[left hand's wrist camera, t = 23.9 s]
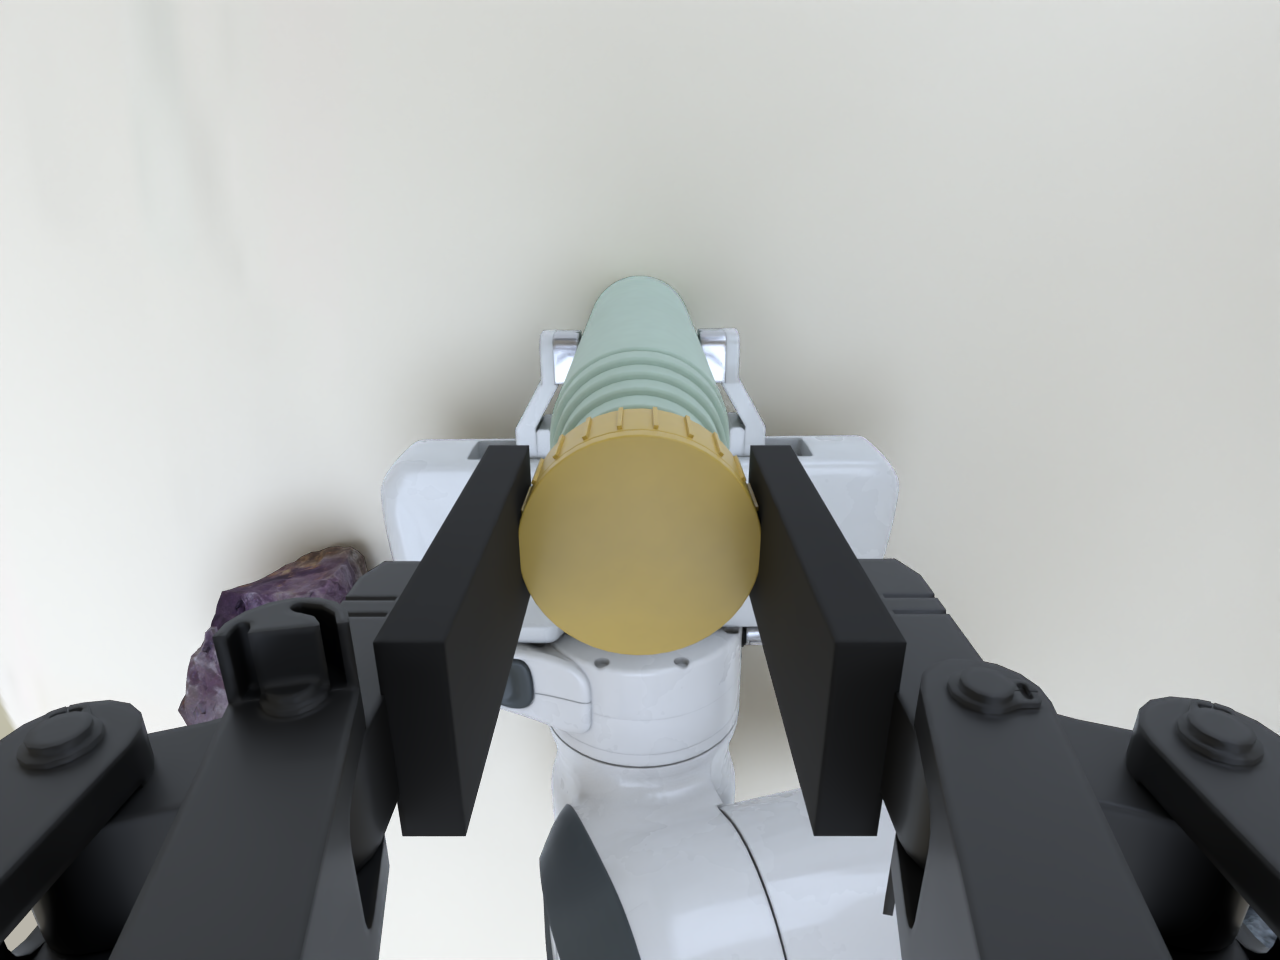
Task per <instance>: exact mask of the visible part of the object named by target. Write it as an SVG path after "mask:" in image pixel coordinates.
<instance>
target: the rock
mask: <svg viewBox="0 0 1280 960" xmlns="http://www.w3.org/2000/svg"><path fill="white" fill-rule="evenodd" d="M367 572H368V571H367V569H366V563H365V559H364V556H363V555H362V554H360V553H359V552H358V551H357V550H355V549H353V548H352V547H346V548H343V547H339V546H338V547H328V548H326V549H324V550H321V551H319V552H311V553H309V554H306V555H304V556H302V557H300V558H299V559H298V560H297V561H295V562H293V563H290V564H287V565H285V566H283V567H282V568H280V569H279V570H277V571H275V572H273V573H272V574H270V575H268V576H266V577H264V578H262V579H260V580H258V581H256V582H253V583H250V584H246V585H242V586H239V587H236V588H233V589H230V590H226V591H222V593H221V596H220V599H219V601H218V604H217V608H216V614H215V616H214V618H213V620H212V623H211V627H210V628H209V629H208V630H207V632H206V633H205V640H204V642H203V644H202V646H201V647H200V648H199V649H198V650H197V651H196V652H195V653H194V654H193V655H192V656H191V659H190V663H189V667H188V672H187V681H186V695H185V696H184V698H183V700H182V701H181V704H180V707H179V709H178V711H179V713H180V714H181V716H182V717H183V719H184V721H185V722H186V724H187V726H189V725H193V724H198V723H203V722H207V721H211V720H215V719H218V718H222V716H223V714H224V712H225V710H226V708H227V706H228V700H227V695H226V691H225V687H224V683H223V679H222V675H221V671H220V667H219V663H218V659H217V655H216V651H215V647H214V643H213V639H212V637H213V635H214V634H215V633H216V632H217V631H218V630H219V629H220V628H221V627H222V626H223V625H224V624H225V623H226V622H228V621H229V620H231V619H233V618H235V617H236V616H238V615H240V614H241V613H243V612H245V611H247V610H250V609H253V608H255V607H258V606H261V605H264V604H266V603H269V602H274V601H279V600H285V599H290V598H299V597H319V598H323V599H327V600H332V601H336V602H338V603H339V604H341V602H342V601H345V599H346V598H345V597H346V595H347V594H348V593H349V591H350V590H351V588H352V587H353V586H354V584H355V583H356V581H357V580H358V579H359V577H361V576H363V575H364V574H366V573H367Z"/></svg>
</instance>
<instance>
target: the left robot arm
mask: <svg viewBox="0 0 1280 960" xmlns="http://www.w3.org/2000/svg"><path fill="white" fill-rule="evenodd" d="M748 483H750V485H751V488H752V490H753V493H754V496H755V498H756V501H757V504H758V506H759V508H758V511H757V514H758V517H759V521H760V524H761V540H760V556H759V570H758V575H757V578H756V582H755V584H754V586H753V588H752V590H751V592H750V594H749V597H750V601H751V604H752V608H753V612H754V616H755V619H756V623H757V627H758V630H759V634H760V638H761V642H762V645H763V649H764V653H765V656H766V660H767V664H768V668H769V671H770V675H771V679H772V682H773V686H774V690H775V694H776V697H777V701H778V705H779V709H780V712H781V716H782V720H783V723H784V727H785V731H786V735H787V738H788V742H789V746H790V749H791V753H792V757H793V761H794V764H795V768H796V772H797V775H798V779H799V783H800V787H801V790H802V794H803V798H804V802H805V805H806V809H807V813H808V816H809V820H810V824H811V828H812V831H813V835H814V836H877V833H878V826H879V820H880V813H881V807H882V800H883V801H884V804H885V806H886V809H887V811H888V814H889V816H890V819H891V821H892V824H893V826H894V829H895V831H896V834H895V840H894V846H893V852H892V858H891V864H890V870H889V876H888V882H887V888H886V894H885V901H884V908H883V914H884V915H890V916H893V911H894V905H895V907H896V915H897V924H898V932H899V941H900V949H901V958H902V960H1280V736H1279V735H1277V734H1276V733H1274V732H1273V731H1271V730H1270V729H1268V728H1267V727H1265V726H1264V725H1262V724H1261V723H1259V722H1258V721H1256V720H1254V719H1252V718H1249V717H1247V716H1245V715H1243V714H1240V713H1238V712H1236V711H1234V710H1233V709H1231V708H1229V707H1226V706H1223V705H1220V704H1217V703H1214V704H1213V703H1211V702H1209V701H1204V700H1200V699H1191V698H1180V697H1165V698H1159V699H1153V700H1150V701H1148V702H1147V703H1146V704H1145V705H1144V706H1143V707H1141V708H1140V709H1139V712H1138V715H1137V719H1136V722H1135V725H1134V729H1133V731H1132V730H1128V729H1123V728H1118V727H1113V726H1108V725H1103V724H1098V723H1093V722H1088V721H1083V720H1078V719H1074V718H1070V717H1066V716H1063V715H1059V714H1057V713H1056V711H1055V709H1054V707H1053V704H1052V702H1051V701H1050V700H1049V699H1048V697H1047V696H1046V695H1045V693H1044V692H1043V691H1042V690H1041V688H1040V687H1038V686H1037V685H1035V684H1034V683H1033V682H1031V681H1030V680H1028V679H1027V678H1025V677H1024V676H1023V675H1021V674H1019V673H1017V672H1014V671H1012V670H1010V669H1007V668H1005V667H1002V666H1000V665H998V664H993V663H989V662H984V661H983V660H982V659H981V657H980V656H979V655H978V653H977V652H976V650H975V649H974V648H973V646H972V645H971V644H970V642H969V641H968V639H967V638H966V637H965V635H964V634H963V633H962V631H961V630H960V629H959V627H958V626H957V624H956V623H955V622H954V620H953V619H952V618H951V616H950V615H949V614H946V609H945V608H944V607H943V605H942V604H941V602H940V601H939V600H938V598H935V597H934V593H933V591H932V590H931V589H930V587H929V586H928V585H927V583H926V582H925V581H924V579H923V578H922V576H921V575H920V574H918V573H917V572H915V571H913V570H912V569H910V568H909V567H907V566H906V565H904V564H903V563H901V562H899V561H898V560H896V559H857V557H856V556H855V554H854V552H853V550H852V549H851V547H850V545H849V544H848V542H847V540H846V539H845V537H844V535H843V534H842V532H841V530H840V528H839V527H838V525H837V523H836V522H835V520H834V518H833V517H832V515H831V513H830V511H829V510H828V508H827V506H826V505H825V503H824V501H823V500H822V498H821V496H820V495H819V493H818V491H817V489H816V488H815V486H814V484H813V483H812V481H811V479H810V478H809V476H808V474H807V472H806V471H805V469H804V467H803V466H802V464H801V462H800V461H799V459H798V457H797V456H796V454H795V452H794V450H793V449H792V447H791V445H750V460H749V478H748ZM530 486H531V469H530V451H529V445H489V446H488V448H487V450H486V451H485V453H484V455H483V456H482V458H481V460H480V461H479V463H478V465H477V467H476V468H475V470H474V472H473V473H472V475H471V477H470V478H469V480H468V482H467V483H466V485H465V487H464V489H463V490H462V492H461V494H460V495H459V497H458V499H457V500H456V502H455V504H454V506H453V507H452V509H451V511H450V512H449V514H448V516H447V517H446V519H445V521H444V522H443V524H442V526H441V528H440V529H439V531H438V533H437V534H436V536H435V538H434V539H433V541H432V543H431V544H430V546H429V548H428V550H427V551H426V553H425V555H424V556H423V558H422V560H421V561H384V562H383V563H381V564H380V565H378V566H376V567H375V568H373V569H372V570H370V571H369V572H367V573H366V574H364V575H363V576H361V577H359V579H358V580H357V581H356V583H355V584H354V586H353V587H352V588H351V590H350V591H349V593H348V594H347V595H346V597H345V598H346V599H345V601H342V602H341V604H339V603H338V602H336V601H332V600H327V599H323V598H319V597H299V598H290V599H285V600H279V601H274V602H269V603H266V604H264V605H261V606H258V607H255V608H253V609H250V610H247V611H245V612H243V613H241V614H240V615H238V616H236V617H235V618H233V619H231V620H229V621H228V622H226V623H225V624H224V625H223V626H222V627H221V628H220V629H219V630H218V631H217V632H216V633H215V634H214V635H213V637H212V639H213V643H214V647H215V651H216V655H217V659H218V663H219V667H220V671H221V675H222V679H223V683H224V687H225V691H226V695H227V700H228V706H227V708H226V710H225V712H224V714H223V716H222V718H218V719H215V720H211V721H207V722H203V723H198V724H193V725H189V726H184V727H179V728H174V729H169V730H164V731H159V732H154V733H149V734H147V731H146V727H145V724H144V721H143V717H142V714H141V712H140V711H138V710H137V709H136V708H135V707H134V706H133V705H131V704H130V703H125V702H119V701H113V700H105V701H95V702H84V703H79V704H74V705H70V706H69V707H62V708H59V709H56V710H53V711H51V712H49V713H47V714H46V715H44V716H41V717H39V718H37V719H35V720H33V721H30V722H28V723H26V724H24V725H22V726H21V727H19V728H18V729H16V730H15V731H13V732H12V733H10V734H9V735H7V736H6V737H4V738H3V739H1V740H0V960H379V951H380V943H381V934H382V926H383V917H384V909H385V900H386V892H387V883H388V875H389V859H388V852H387V846H386V840H385V831H386V829H387V826H388V824H389V821H390V819H391V816H392V814H393V811H394V809H395V806H396V803H397V804H398V810H399V817H400V823H401V830H402V836H466V833H467V829H468V826H469V822H470V818H471V815H472V811H473V807H474V803H475V800H476V796H477V792H478V788H479V785H480V781H481V777H482V774H483V770H484V766H485V762H486V759H487V755H488V751H489V748H490V744H491V740H492V736H493V733H494V729H495V725H496V722H497V718H498V714H499V710H500V707H501V703H502V699H503V696H504V692H505V688H506V684H507V681H508V677H509V673H510V670H511V666H512V662H513V658H514V655H515V651H516V647H517V644H518V640H519V636H520V632H521V629H522V625H523V621H524V617H525V614H526V610H527V606H528V603H529V599H530V593H529V591H528V589H527V587H526V585H525V582H524V580H523V577H522V574H521V563H520V548H519V523H520V518H521V515H522V514H521V509H522V506H523V504H524V501H525V498H526V496H527V493H528V490H529V488H530ZM531 487H532V486H531ZM1249 906H1251V907H1252V909H1253V910H1254V911H1255V912H1256V913H1257V914H1258V915H1259V916H1260V918H1261V919H1262V920H1263V921H1264V922H1265V923H1266V924H1267V926H1268V927H1269V928H1270V929H1271V930H1272V931H1273V932H1274V933H1275V935H1276V936H1277V938H1276V940H1275V943H1274V945H1273V946H1272V947H1271V949H1269V948H1267V947H1266V946H1265V945H1264V944H1263V943H1262V942H1260V941H1259V940H1258V939H1257V938H1256V937H1255V936H1254V935H1253V933H1252V932H1251V931H1250V930H1249V929H1248V928H1247V926H1246V925H1245V924H1244V923H1243V920H1244V918H1245V915H1246V913H1247V910H1248V908H1249ZM30 910H32V912H33V914H34V917H35V919H36V922H37V924H38V926H37V927H36V928H35V929H34V930H33V931H32V933H31V934H30V935H29V936H28V937H27V939H26V940H25V941H23V942H22V943H21V944H20V945H19V946H18V947H16V948H15V949H14V950H13V951H12V952H11V951H9V950H8V949H7V947H6V944H5V942H4V940H5V939H6V937H7V936H8V935H9V934H10V933H11V932H12V931H13V929H14V928H15V927H16V926H17V925H18V924H19V923H20V922H21V920H22V919H23V918H24V917H25V916H26V915H27V914H28V912H29V911H30Z"/></svg>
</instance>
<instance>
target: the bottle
mask: <svg viewBox="0 0 1280 960" xmlns="http://www.w3.org/2000/svg"><path fill="white" fill-rule="evenodd" d="M620 407H623V410H624V409H639V408H644V409H653V407H657V410H661V411H666V412H671V413H674V414H677V415H680V416H683V417H685V415H687V416H690V420H692V421H694V422H696V423H698V424H700V425H701V426H703V427H704V428H706V429H707V430H708V431H710V432H711V433H714V432H716V433H717V434H718V437H719V440H720V441H721V442H723V444H724V445H725V446H726V447H727V448H728V450H729V447H730V436H729V422H728V416H727V411H726V407H725V405H724V402H723V399H722V397H721V394H720V392H719V389H718V387H717V384H716V382H715V379H714V377H713V374H712V372H711V369H710V367H709V364H708V362H707V359H706V357H705V354H704V351H703V349H702V346H701V344H700V341H699V339H698V336H697V334H696V331H695V329H694V326H693V324H692V321H691V319H690V316H689V314H688V311H687V309H686V306H685V304H684V302H683V300H682V299H681V297H680V296H679V295H678V293H677V292H676V291H675V290H674V289H673V288H672V287H670V286H669V285H668V284H666V283H664V282H663V281H661V280H658V279H656V278H652V277H647V276H632V277H627V278H624V279H621V280H619V281H617V282H615V283H613V284H612V285H611V286H609V287H608V288H607V289H606V290H605V291H604V292H603V293H602V294H601V295H600V297H599V298H598V300H597V301H596V303H595V305H594V308H593V310H592V313H591V315H590V318H589V320H588V323H587V325H586V328H585V330H584V333H583V335H582V338H581V340H580V343H579V345H578V348H577V350H576V353H575V356H574V358H573V361H572V363H571V366H570V368H569V371H568V373H567V376H566V378H565V381H564V383H563V386H562V388H561V391H560V393H559V396H558V398H557V401H556V403H555V406H554V410H553V414H552V418H551V428H550V450H551V449H552V448H553V447H554V446H555V444H556V443H557V442H558V439H559V436H560V435H561V434H563V435H564V436H565V435H566V434H567V433H568V432H570V431H571V430H572V429H574V428H575V427H577V426H579V425H580V424H582V423H583V422H585V421H586V418H588V417H591V419H592V418H594V417H596V416H599V415H602V414H606V413H609V412H612V411H618V409H619V408H620Z"/></svg>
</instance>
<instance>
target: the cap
mask: <svg viewBox="0 0 1280 960" xmlns="http://www.w3.org/2000/svg"><path fill="white" fill-rule="evenodd" d="M531 484H533V485H532V487H531V486H530V488H529V490H528V493H527V496H526V498H525V501H524V504H523V506H522V509H521V514H522V515H521V518H520V523H519V548H520V563H521V574H522V577H523V580H524V582H525V585H526V587H527V589H528V591H529V593H530V595H531V596H532V598H533V600H534V601H535V603H536V604H537V606H538V607H539V608H540V609H541V611H542V612H543V613H544V614H545V615H546V616H547V617H548V618H549V619H550V620H551V621H552V622H553V623H554V624H555V625H556V626H557V627H559V628H560V629H561V630H563V631H564V632H565V633H567V634H568V635H570V636H572V637H573V638H575V639H577V640H579V641H581V642H583V643H585V644H587V645H590V646H592V647H595V648H598V649H601V650H605V651H608V652H613V653H619V654H627V655H654V654H660V653H667V652H671V651H675V650H678V649H682V648H685V647H687V646H690V645H692V644H695V643H697V642H699V641H701V640H702V639H704V638H706V637H708V636H710V635H711V634H713V633H714V632H715V631H717V630H718V629H720V628H721V627H722V626H723V625H724V624H726V623H727V622H728V621H729V620H730V619H731V618H732V617H733V616H734V615H735V614H736V612H737V611H738V610H739V609H740V608H741V606H742V605H743V603H744V602H745V600H746V599H747V597H748V596H749V594H750V592H751V590H752V588H753V586H754V584H755V582H756V578H757V575H758V570H759V556H760V540H761V524H760V521H759V517H758V514H757V511H758V508H759V506H758V504H757V501H756V498H755V496H754V493H753V490H752V488H751V485H750V483H746V477H745V474H744V472H743V469H742V466H741V464H740V461H739V458H738V457H737V455H735V456H733V455H732V453H731V452H730V451H729V450H728V448H727V447H726V446H725V445H724V444H723V442H721V441H720V440H719V437H718V434H717V433H716V432H714V433H711V432H710V431H708V430H707V429H706V428H704V427H703V426H701V425H700V424H698V423H696V422H694V421H692V420H690V416H687V415H685V417H683V416H680V415H677V414H674V413H671V412H666V411H661V410H657V407H653V409H644V408H639V409H624V410H623V407H620V408H619V409H618V411H612V412H609V413H606V414H602V415H599V416H596V417H594V418H592V419H591V417H588V418H586V421H585V422H583V423H582V424H580V425H579V426H577V427H575V428H574V429H572V430H571V431H570V432H568V433H567V434H566V435H565V436H564V435H563V434H561V435H560V436H559V439H558V442H557V443H556V444H555V446H554V447H553V448H552V449H551V450H550V451H549V453H548V454H547V456H546V457H545V459H542V458H541V459H540V461H539V463H538V466H537V468H536V471H535V474H534V476H533V479H532V482H531Z"/></svg>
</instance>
